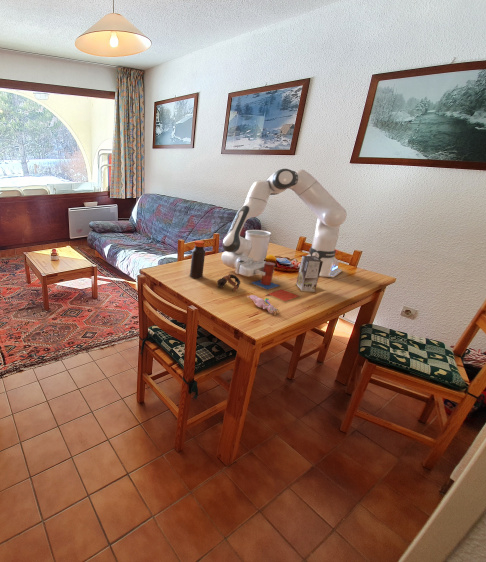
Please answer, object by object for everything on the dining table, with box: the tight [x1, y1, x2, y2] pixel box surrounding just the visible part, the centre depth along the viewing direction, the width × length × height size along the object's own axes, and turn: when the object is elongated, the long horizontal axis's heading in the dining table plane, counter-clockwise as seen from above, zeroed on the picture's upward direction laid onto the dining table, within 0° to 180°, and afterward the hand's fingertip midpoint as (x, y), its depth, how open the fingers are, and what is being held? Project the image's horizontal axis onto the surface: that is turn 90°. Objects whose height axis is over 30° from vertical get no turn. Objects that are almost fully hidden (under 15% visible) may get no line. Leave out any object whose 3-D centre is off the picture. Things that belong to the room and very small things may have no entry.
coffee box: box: [295, 255, 323, 292], centre depth 154 cm, size 9×6×16 cm
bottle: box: [189, 240, 206, 279], centre depth 169 cm, size 7×7×20 cm
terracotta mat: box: [268, 289, 299, 302], centre depth 149 cm, size 11×9×1 cm
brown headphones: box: [217, 273, 241, 292], centre depth 156 cm, size 12×10×8 cm
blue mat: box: [251, 279, 281, 290], centre depth 161 cm, size 10×10×1 cm
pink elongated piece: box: [247, 294, 281, 316], centre depth 136 cm, size 6×6×15 cm
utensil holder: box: [244, 229, 272, 262], centre depth 198 cm, size 15×15×18 cm
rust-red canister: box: [260, 261, 276, 285], centre depth 159 cm, size 5×5×11 cm
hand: (269, 273), depth 158 cm, fingers closed on rust-red canister, 5 cm apart
